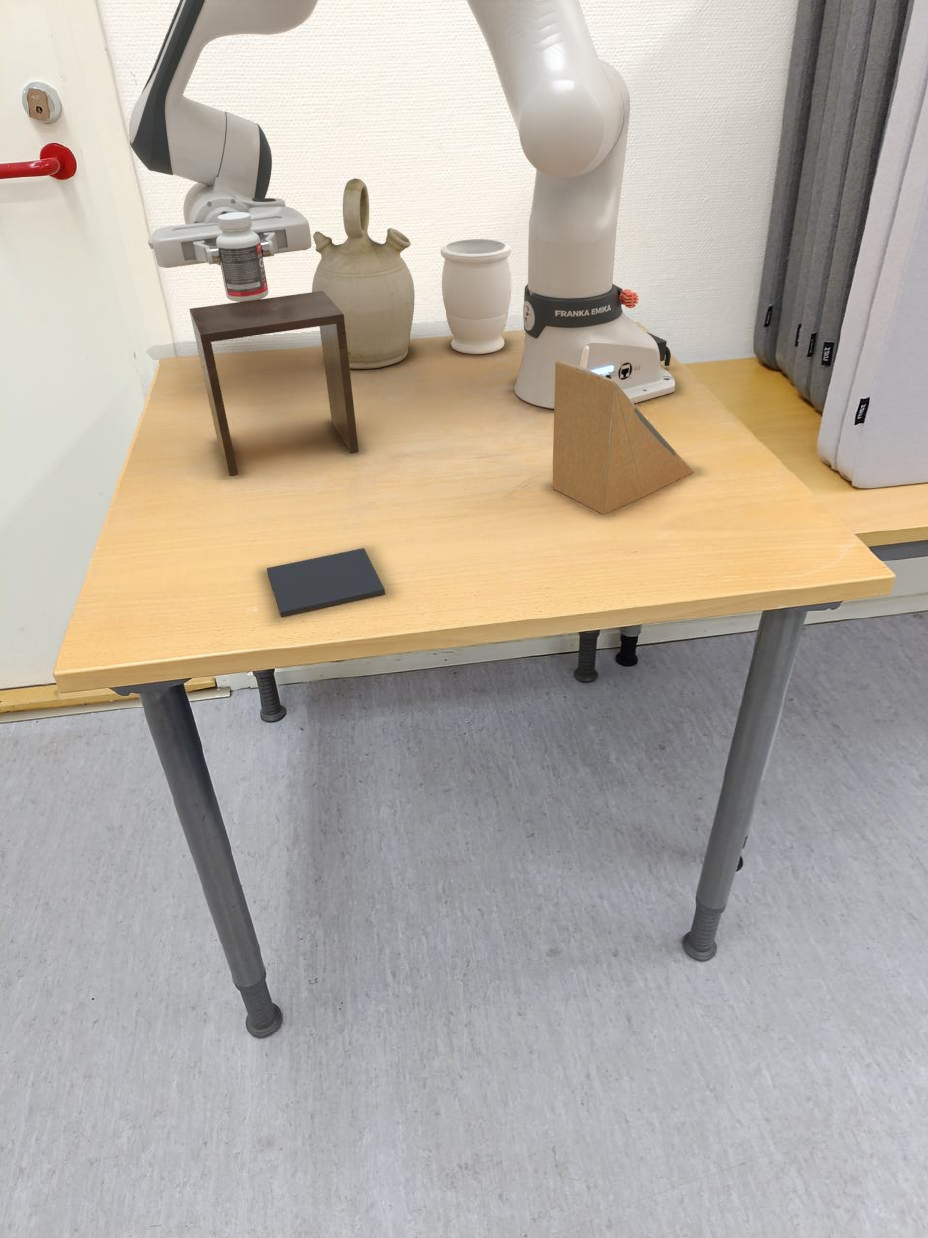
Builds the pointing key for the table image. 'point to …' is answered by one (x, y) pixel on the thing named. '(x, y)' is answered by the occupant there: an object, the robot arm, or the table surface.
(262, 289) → the pill bottle
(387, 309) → the jug
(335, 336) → the arch
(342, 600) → the pad
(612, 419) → the sandwich container
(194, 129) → the robot arm
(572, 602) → the table surface
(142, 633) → the table surface
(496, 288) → the jar
